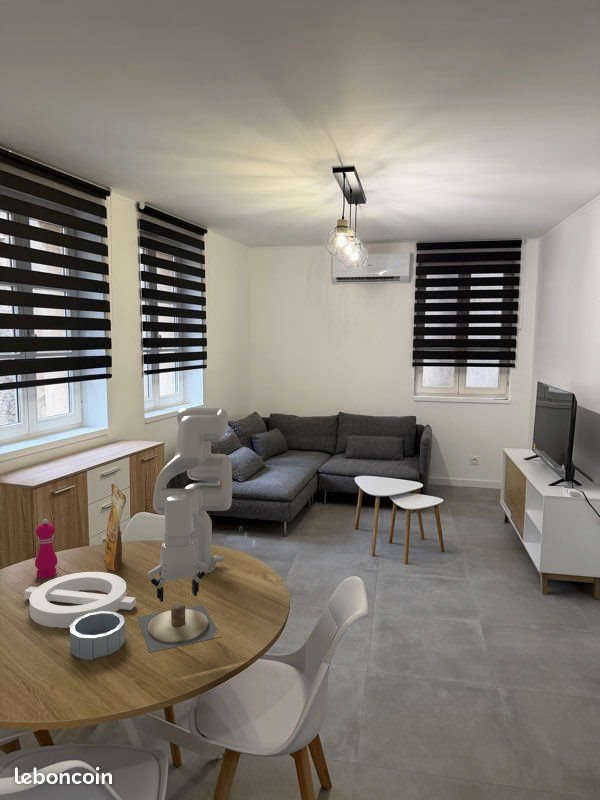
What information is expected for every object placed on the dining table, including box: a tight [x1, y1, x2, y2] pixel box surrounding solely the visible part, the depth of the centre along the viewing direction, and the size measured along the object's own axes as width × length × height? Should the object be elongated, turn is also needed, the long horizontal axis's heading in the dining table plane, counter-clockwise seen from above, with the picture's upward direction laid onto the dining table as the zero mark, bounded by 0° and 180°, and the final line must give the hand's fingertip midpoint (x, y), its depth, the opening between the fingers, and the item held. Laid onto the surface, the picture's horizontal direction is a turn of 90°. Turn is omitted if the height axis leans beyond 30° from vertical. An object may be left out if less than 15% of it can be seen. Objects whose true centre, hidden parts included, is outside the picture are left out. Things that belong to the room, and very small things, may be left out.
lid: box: [148, 603, 208, 643], centre depth 160 cm, size 17×17×6 cm
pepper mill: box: [34, 518, 58, 579], centre depth 192 cm, size 7×7×20 cm
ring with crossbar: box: [23, 571, 137, 629], centre depth 172 cm, size 28×28×5 cm
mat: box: [137, 604, 219, 653], centre depth 160 cm, size 20×20×1 cm
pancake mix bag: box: [103, 483, 127, 572], centre depth 203 cm, size 7×19×28 cm, turn 24°
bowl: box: [69, 611, 126, 661], centre depth 150 cm, size 14×14×6 cm
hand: (177, 597), depth 158 cm, fingers open, 9 cm apart
